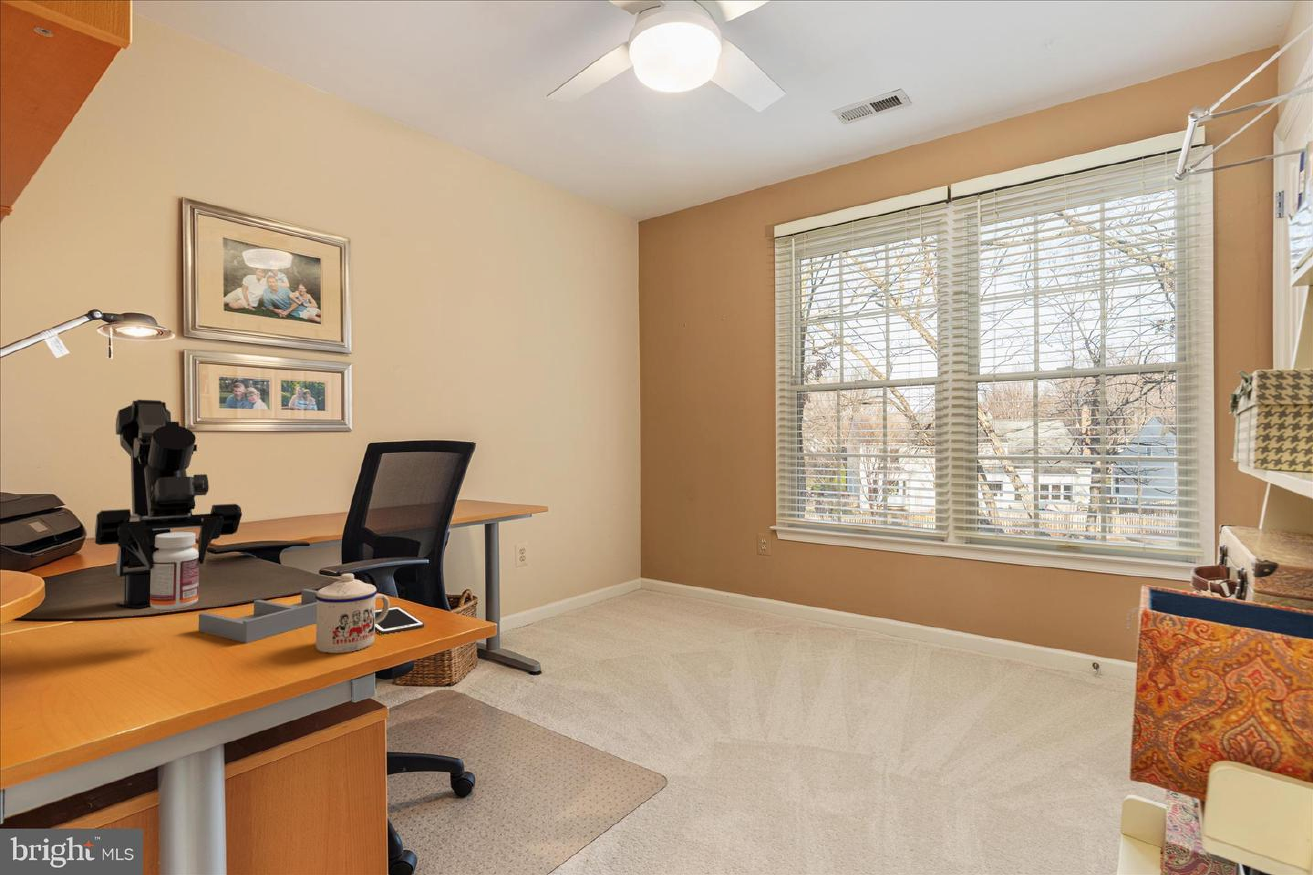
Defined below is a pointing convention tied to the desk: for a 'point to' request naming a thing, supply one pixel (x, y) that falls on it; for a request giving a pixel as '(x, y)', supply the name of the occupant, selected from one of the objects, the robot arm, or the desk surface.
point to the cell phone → (397, 621)
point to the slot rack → (263, 619)
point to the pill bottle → (174, 571)
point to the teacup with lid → (347, 615)
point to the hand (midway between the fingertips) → (176, 565)
